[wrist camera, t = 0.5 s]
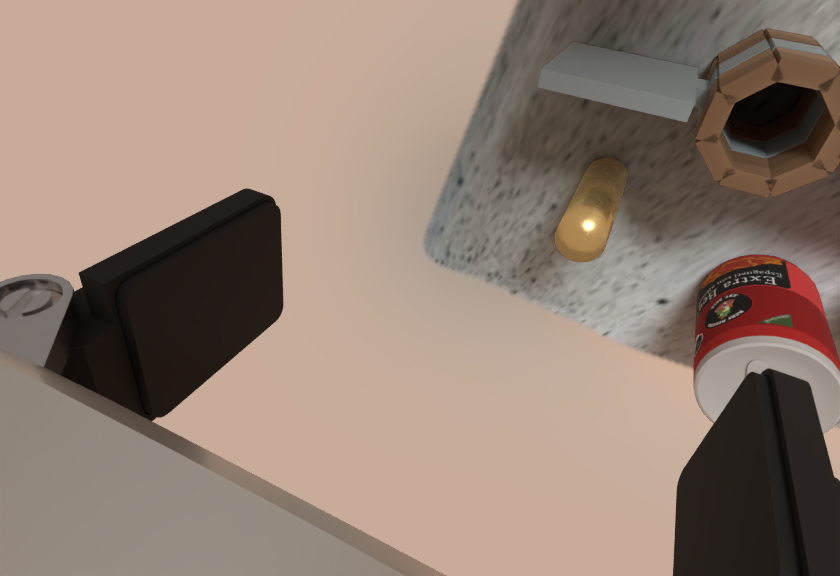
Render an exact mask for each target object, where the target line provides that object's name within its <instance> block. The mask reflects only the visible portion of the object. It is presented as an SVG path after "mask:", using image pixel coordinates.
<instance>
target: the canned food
mask: <svg viewBox="0 0 840 576" xmlns="http://www.w3.org/2000/svg"><path fill="white" fill-rule="evenodd" d="M768 368H771V369H773V370H776V371H779V372H782V373H785V374H788V375H791V376H794V377H797V378H800V379H802V380H805V381H807V382H809V384H810V386H811V389H812V393H813V397H814V401H815V405H816V409H817V413H818V417H819V420H820V424H821V428H822V432H823V434H824V433H825V432H827V431H828V430H829V429H831V428H833V427H834V425H835V424H836V423H837V422H838V421H839V420H840V362H839V359H838V356H837V352H836V349H835V346H834V342H833V339H832V336H831V332H830V329H829V326H828V322H827V319H826V315H825V312H824V309H823V305H822V302H821V299H820V295H819V292H818V290H817V288H816V286H815V284H814V282H813V281H812V280H811V279H810V277H809V276H808V275H807V274H806V273H804V272H803V271H802V270H801V269H799V268H798V267H797V266H796V265H794V264H792V263H790V262H788V261H786V260H784V259H781V258H778V257H775V256H769V255H746V256H740V257H737V258H734V259H731V260H728V261H726V262H724V263H723V264H721V265H719V266H718V267H717V268H715V269H714V270H713V271H712V272H711V273H710V274H709V275H708V277H707V278H706V279H705V280H704V282H703V283H702V285H701V287H700V289H699V293H698V297H697V311H696V331H695V351H694V390H695V396H696V400H697V402H698V405H699V407H700V408H701V410H702V412H703V413H704V414H705V415H706V416H707V418H708V419H709V420H710V421H712V422H713V423H715V421H716V420H717V418H718V417H719V415H720V414H721V412H722V411H723V409H724V408H725V406H726V405H727V403H728V402H729V401H730V399H731V398H732V396H733V395H734V393H735V392H736V390H737V389H738V387H739V386H740V384H741V383H742V381H743V380H744V378H745V377H746V376H747V374H749V373H750V372H755V373H758V374H761V373H762V372H763V371H764V370H765V369H768Z"/></svg>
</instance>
